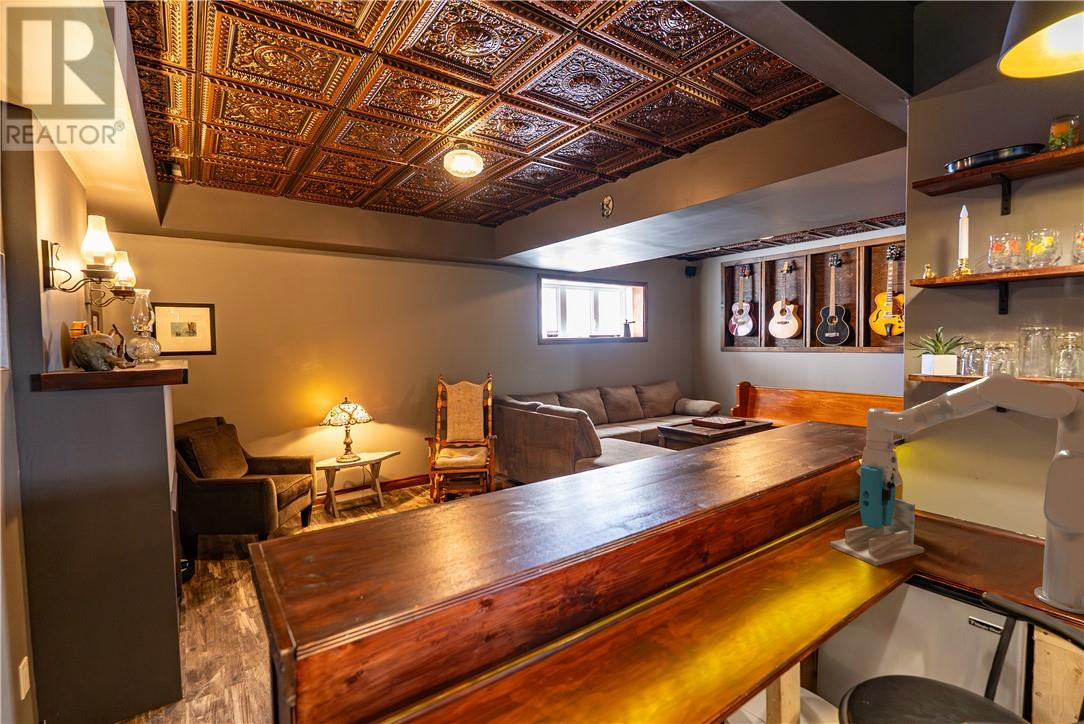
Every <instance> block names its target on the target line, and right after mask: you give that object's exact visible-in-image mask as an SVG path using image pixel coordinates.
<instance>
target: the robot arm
mask: <svg viewBox="0 0 1084 724" xmlns="http://www.w3.org/2000/svg"><path fill="white" fill-rule="evenodd" d="M994 407H1000V408H1004V409H1008V410H1013V411H1016V412H1021V413H1025V414H1029V415H1033V416H1037V417H1041V418H1047V419H1057V432H1056V444H1055V449H1054V451H1055V452H1054V455H1053V457H1052V459H1051V461H1050V462H1049V465H1048V467H1047V474H1046V482H1045V490H1044V501H1043V510H1042V511H1043V514H1044V515H1043V516H1044V518H1045V519H1046V520H1045V521H1046V523H1045V533H1044V535H1045V536H1044V554H1043V570H1042V572H1043V573H1042V586H1038V587H1036V588H1035V589H1034V596H1035V597H1036V598H1037V599H1038V600H1039V601H1041V602H1043V603H1045V604H1047V605H1049V606H1051V607H1054V608H1056V609H1059V610H1063V611H1066V612H1069V613H1075V614H1079V615H1084V391H1082V390H1080V389H1078V388H1076V387H1075V386H1072V385H1067V384H1066V383H1065V384H1064V383H1057V382H1056V383H1049V384H1042V383H1036V382H1031V381H1026V380H1024V379H1023V380H1022V379H1018V378H1017V377H1015V376H1014V375H1012V374H1010V373H1008V372H1007V373H1006V372H996V373H992V374H989V375H987V376H984V377H982V378H980V379H977V380H975V381H971V382H970V383H967V384H964V385H962V386H959V387H956V388H954V389H951V390H949V391H946V392H944V393H943V394H942V393H941V395H939V396H938V397H935V398H933V399H931V400H929V401H926V402H922V403H920V404H918V405H916V406H913V407H911V408H907V409H905V410H902V411H893V410H891V409H889V408H884V407H883V408H882V407H872V408H869V409H868V410H867V414H866V415H867V416H866V438H865V444H866V445H865V446H864V448H863V451H862V456H861V463H860V467H859V468H858V469H856V473H857V475H859V477H860V478H861V467H863V466H870V467H873V468H877V469H882V480H883V485H884V489H883V490H882V501H884V502H885V501H889V500H890V498H891V489H893V488H894V487H896V486H897V485H899V484H901V483H902V481H903V480H902V481H901V480H900V478H899V477H898V471H899V464H898V456H897V453H896V449H897V448H898V447H897V445H896V444H894V434H898V435H901V436H910V435H914V434H916V433H917V432H919V431H922V430H924V429H926V428H929V427H933V426H936V425H938V424H940V423H943V422H947V421H950V420H955V419H962V418H966V417H969V416H971V415H973V414H977V413H980V412H982V411H984V410H985V411H986V410H989V409H991V408H994ZM891 479H892V480H894V482H893V483H892V481H891Z"/></svg>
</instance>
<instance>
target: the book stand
mask: <svg viewBox="0 0 1084 724" xmlns="http://www.w3.org/2000/svg"><path fill="white" fill-rule="evenodd" d="M915 512H916V504H915V503H912V502H910V501H906V500H903V499H902V500H900V499H896V498H895V508H894V512H893V517H892V522H891V526H887V527H886V526H883V525H882V528H879V529H874V528H871V527H868V526H865V525H861V526H857V527H852V528H848V529H844V530H845V534H844V535H845V536H844V538H841V539H838V540H833V541H830V542H829V546H830V547H831V548H833V549H836V550H838V551H841V552H842V553H845V554H847V555H850V556H852V557H854V558H856V559H859V560H862V561H863V562H866V563H868V564H871V565H873V566H874V567H876V566H881V565H884V564H888V563H891V562H894V561H899V560H902V559H905V558H909V557H912V556H916V555H919V554H924V551H925V548H924V547H922V546H919V545H918V544H914V542H915Z"/></svg>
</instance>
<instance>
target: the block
mask: <svg viewBox="0 0 1084 724" xmlns="http://www.w3.org/2000/svg"><path fill="white" fill-rule="evenodd" d="M860 467H861V466H860ZM891 481H892V483H893V482H894V480H892V479H891ZM859 482H860V483H859V485H860V486H859V490H860V491H859V511H860V512H859V513H860V517H861V522H862V523H861V524H862V526H868V527H871V528H874V529H879V528H882V525H883V526H886V527H887V526H891V522H892V517H893V512H894V508H895V490H896V487H894V488H893V489H891V498H890V500H889V501H885V502H884V501H882V490H883V489H884V485H883V480H882V469H877V468H873V467H870V466H863V467H861V477H860V481H859Z"/></svg>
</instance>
